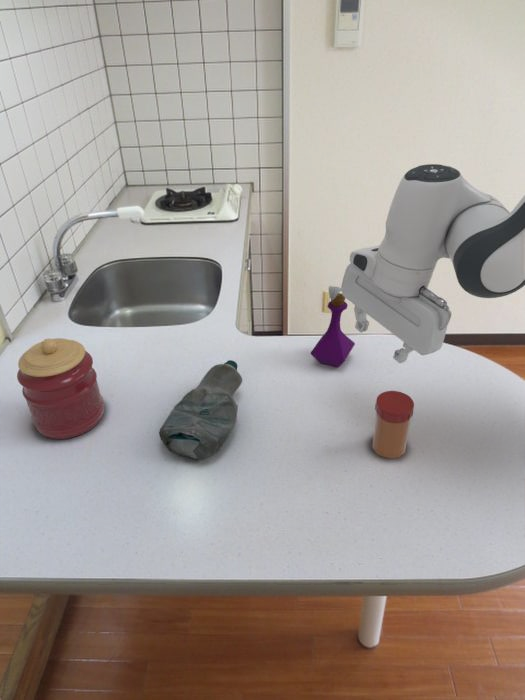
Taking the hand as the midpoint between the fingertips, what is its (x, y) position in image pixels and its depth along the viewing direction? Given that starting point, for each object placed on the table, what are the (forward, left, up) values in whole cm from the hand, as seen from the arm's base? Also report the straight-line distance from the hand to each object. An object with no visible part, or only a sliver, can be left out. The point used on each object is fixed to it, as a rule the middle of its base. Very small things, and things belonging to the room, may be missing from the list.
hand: (379, 344), depth 89 cm
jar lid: (-1, +8, -7) cm, 10 cm away
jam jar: (-1, +8, -16) cm, 18 cm away
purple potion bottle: (+4, -19, -16) cm, 25 cm away
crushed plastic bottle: (+30, -3, -16) cm, 34 cm away
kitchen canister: (+57, -6, -16) cm, 59 cm away
